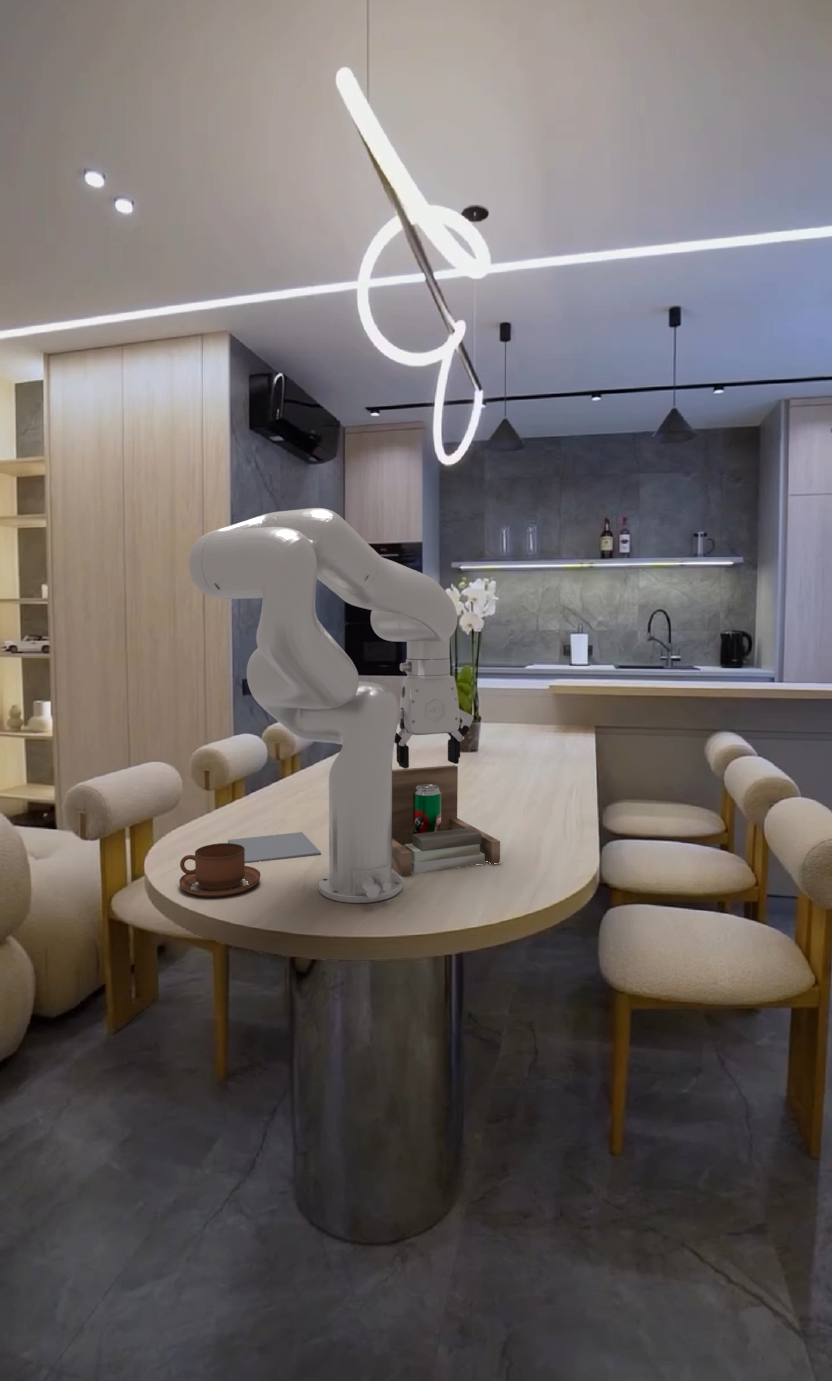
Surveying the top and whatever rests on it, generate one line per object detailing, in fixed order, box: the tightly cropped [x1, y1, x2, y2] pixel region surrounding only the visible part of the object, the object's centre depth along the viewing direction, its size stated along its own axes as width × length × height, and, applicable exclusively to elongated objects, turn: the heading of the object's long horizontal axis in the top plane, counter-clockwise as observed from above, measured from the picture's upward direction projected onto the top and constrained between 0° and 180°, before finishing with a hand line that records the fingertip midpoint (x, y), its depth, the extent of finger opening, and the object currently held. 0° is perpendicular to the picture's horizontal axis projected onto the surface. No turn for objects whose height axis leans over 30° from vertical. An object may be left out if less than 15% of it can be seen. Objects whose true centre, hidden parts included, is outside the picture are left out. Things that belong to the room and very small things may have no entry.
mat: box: [227, 831, 322, 864], centre depth 129 cm, size 14×14×1 cm
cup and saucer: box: [178, 842, 261, 898], centre depth 108 cm, size 12×12×6 cm
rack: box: [392, 764, 501, 878], centre depth 125 cm, size 18×18×14 cm
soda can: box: [413, 785, 441, 834], centre depth 126 cm, size 5×5×12 cm
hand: (428, 764), depth 126 cm, fingers open, 9 cm apart
